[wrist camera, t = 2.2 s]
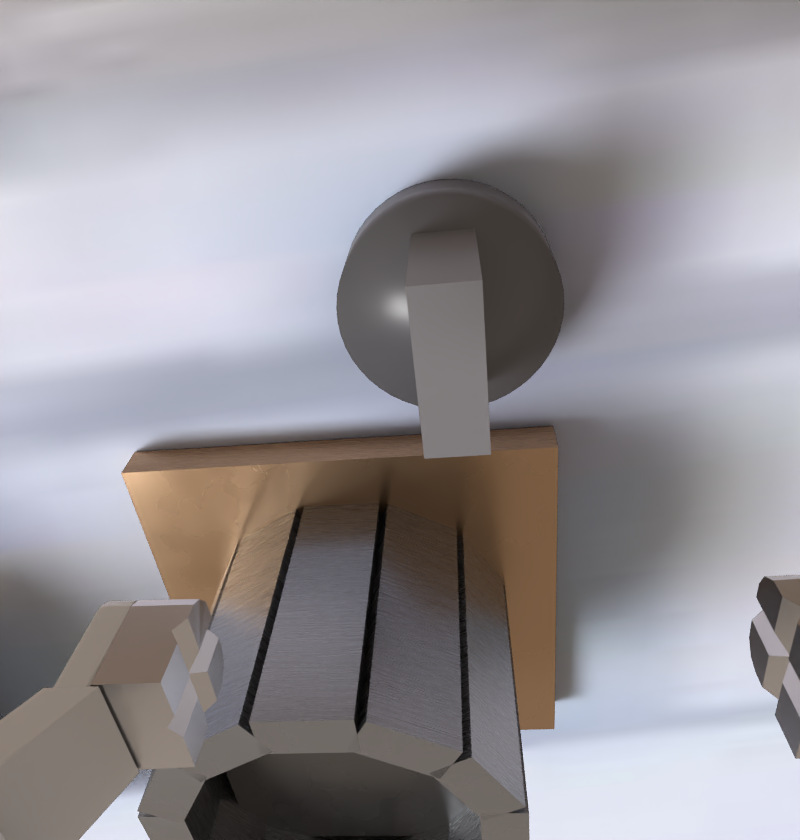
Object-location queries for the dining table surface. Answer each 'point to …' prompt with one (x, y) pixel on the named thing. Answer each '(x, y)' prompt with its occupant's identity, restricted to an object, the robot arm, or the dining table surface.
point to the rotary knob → (450, 306)
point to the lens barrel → (360, 634)
